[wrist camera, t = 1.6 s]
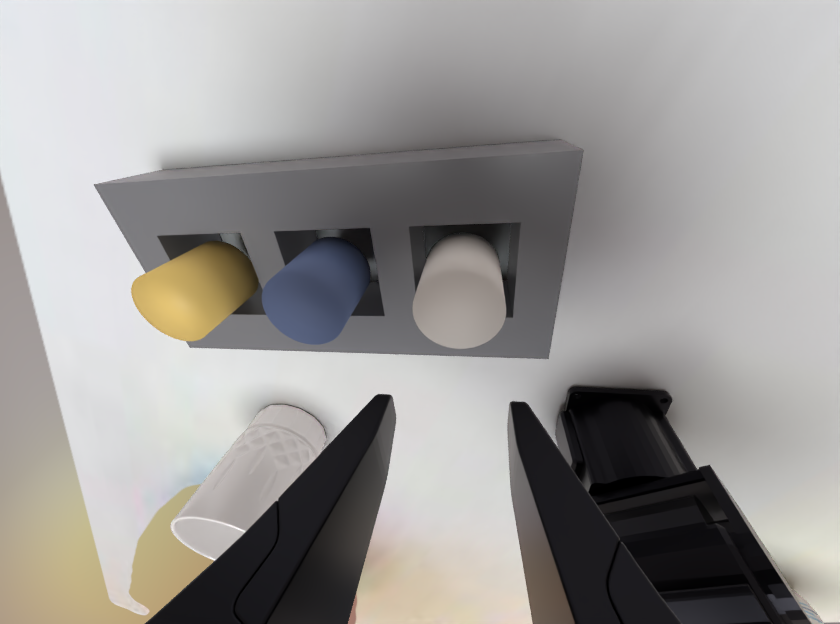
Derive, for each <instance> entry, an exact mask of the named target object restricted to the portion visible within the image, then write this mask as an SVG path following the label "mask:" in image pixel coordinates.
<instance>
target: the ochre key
mask: <svg viewBox="0 0 840 624" xmlns="http://www.w3.org/2000/svg"><path fill="white" fill-rule="evenodd" d="M258 283H259V280H258V277H257V274H256V272H255V269H254V267H253V264H252V262H251V261H250V259H249V258H248V257H247V256H246V255H245V254H244V253H243V252H242V251H240V250H239V249H238V248H236V247H234V246H232V245H231V244H228V243H225V242H222V241H208V242H205V243H203V244H202V245H200V246H198V247H196V248H194V249H192V250H190V251H188V252H186V253H184V254H182V255H180V256H178V257H176V258H174V259H172V260H171V261H169V262H167V263H165V264H163V265H161V266H159V267H157V268H155V269H153V270H151V271H149V272H147V273H145V274H143V275H142V276H140V277H138V278H137V279H135V281H134V282H133V284H132V288H131V293H132V298H133V301H134V303H135V305H136V307H137V309H138V310H139V312H140V313H141V315H142V316H143V317H144V318H145V319H146V320H147V321H148V322H149V323H150V324H151V325H152V326H154V327H155V328H156V329H158V330H159V331H161V332H162V333H164V334H166V335H168V336H170V337H173V338H175V339H179V340H183V341H197V340H200V339H202V338H204V337H205V336H206V335H207V334H208V333H209V332H211V331H212V330H213V329H214V328H215V327H216V326H218V325H219V324H220V323H221V322H222V321H223V320H225V319H226V318H227V317H228V316H229V315H230V314H232V313H233V312H234V311H235V310H236V309H237V308H239V307H240V306H241V305H242V304H243V303H244V302H245V301H247V300H248V299H249V298H250V297H251V296H252V295H254V294H255V292H256V291H257V288H258Z"/></svg>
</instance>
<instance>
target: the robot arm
mask: <svg viewBox="0 0 840 624" xmlns="http://www.w3.org/2000/svg"><path fill="white" fill-rule="evenodd" d="M575 394H577V395H575ZM671 403H672V398H671V396H670V395H669V393H668V392H665V391H649V390H626V389H604V388H582V387H574V388H571V389H570V390H569V391H568V394H567V399H566V403H565V408H564V411H561V412H560V414H559V418H558V423H557V427H556V432H555V436H556V440H557V444H558V447H557V446H556V444H555V443H554V442H553V440H552V439H551V437H550V436H549V434H548V433H547V431H546V430H545V428H544V427H543V426H542V424H541V423H540V421H539V420H538V418H537V417H536V415H535V414H534V412H533V411H532V409H531V408H530V407H529V405H528V404H527V403H526V402H515V401H512V402H510V404H509V413H508V426H507V428H508V450H509V469H510V486H511V495H512V502H513V508H514V514H515V520H516V526H517V532H518V538H519V544H520V550H521V556H522V562H523V568H524V574H525V579H526V585H527V591H528V597H529V603H530V609H531V615H532V621H533V624H812V622H811V621H810V619H809V617H808V616H807V614H806V612H805V611H804V609H803V608H802V606H801V604H800V603H799V601H798V599H797V598H796V596H795V594H794V593H793V591H792V590H791V588H790V586H789V585H788V583H787V581H786V580H785V578H784V576H783V575H782V573H781V572H780V570H779V568H778V567H777V565H776V563H775V562H774V560H773V558H772V557H771V555H770V554H769V552H768V550H767V549H766V547H765V546H764V544H763V543H762V541H761V540H760V538H759V537H758V535H757V534H756V532H755V530H754V529H753V527H752V526H751V524H750V523H749V521H748V520H747V518H746V517H745V515H744V514H743V512H742V511H741V509H740V508H739V506H738V505H737V503H736V502H735V500H734V499H733V497H732V496H731V495H730V493H729V492H728V490H727V489H726V488H725V486H724V485H723V483H722V482H721V480H720V479H719V478H718V476H717V475H716V473H715V472H714V470H713V469H712V468H711V466H710V465H707V466H703V467H699V470H697V468H696V466H695V465H694V463H693V461H692V460H691V458H690V456H689V455H688V453H687V451H686V450H685V448H684V446H683V445H682V443H681V441H680V440H679V438H678V436H677V435H676V433H675V431H674V430H673V428H672V426H671V425H670V423H669V421H668V420H667V418H666V416H665V415H666V413H667V411H668V409H669V407H670V405H671ZM395 425H396V413H395V407H394V402H393V397H392V396H391V395H387V394H378V395H376V396H375V397H374V398H373V399H372V400H371V401H370V402H369V403H368V404H367V405H366V406H365V407H364V408H363V409H362V410H361V411H360V412H359V414H358V415H357V416H356V417H355V418H354V419H353V420H352V421H351V422H350V423H349V424H348V425H347V426H346V427H345V428H344V429H343V430H342V431H341V433H340V434H339V435H338V436H337V437H336V438H335V439H334V440H333V441H332V442H331V443H330V444H329V445H328V446H327V447H326V448H325V449H324V450H323V451H322V453H321V454H320V455H319V456H318V457H317V458H316V459H315V460H314V461H313V462H312V463H311V464H310V465H309V466H308V467H307V468H306V469H305V470H304V471H303V473H302V474H301V475H300V476H299V477H298V478H297V479H296V480H295V481H294V482H293V483H292V484H291V485H290V486H289V487H288V488H287V489H286V490H285V491H284V493H283V494H282V495H281V496H280V497H279V498H278V501H275V502H274V503H273V504H272V505H271V506H270V507H269V508H268V509H267V510H266V511H265V512H264V513H263V514H262V516H261V517H260V518H259V519H258V520H257V521H256V522H255V523H254V524H253V525H252V526H251V527H250V528H249V529H248V530H247V531H246V532H245V533H244V534H243V535H242V536H241V537H240V538H239V539H238V540H236V541H235V542H234V543H233V544H232V545H231V546H230V547H229V548H228V549H227V550H226V551H225V552H224V553H223V554H222V555H220V556H219V557H218V558H217V559H216V560H215V561H214V562H213V563H212V564H211V565H210V566H209V567H207V568H206V569H205V570H204V571H203V572H202V573H201V574H200V575H199V576H197V577H196V578H195V579H194V580H193V581H192V582H191V583H190V584H189V585H187V586H186V587H185V588H184V589H183V590H182V591H181V592H180V593H179V594H178V595H176V597H174V598H173V599H172V600H171V601H170V602H169V603H168V604H166V605H165V606H164V607H163V608H162V609H161V610H160V611H159V612H158V613H157V614H156V615H154V616H153V617H152V618H151V619H150V620H149V621H148V622H146V623H145V624H348V621H349V617H350V613H351V610H352V606H353V602H354V599H355V595H356V591H357V588H358V584H359V580H360V576H361V573H362V569H363V565H364V562H365V558H366V554H367V551H368V547H369V543H370V540H371V536H372V532H373V529H374V525H375V521H376V518H377V514H378V510H379V507H380V503H381V499H382V496H383V492H384V488H385V484H386V480H387V475H388V469H389V463H390V457H391V450H392V444H393V438H394V431H395ZM558 448H559V449H558Z"/></svg>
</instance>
